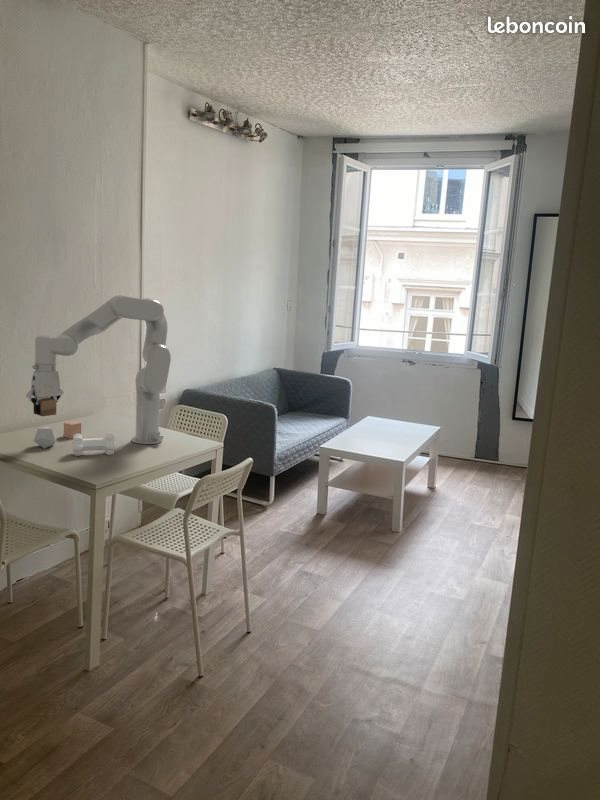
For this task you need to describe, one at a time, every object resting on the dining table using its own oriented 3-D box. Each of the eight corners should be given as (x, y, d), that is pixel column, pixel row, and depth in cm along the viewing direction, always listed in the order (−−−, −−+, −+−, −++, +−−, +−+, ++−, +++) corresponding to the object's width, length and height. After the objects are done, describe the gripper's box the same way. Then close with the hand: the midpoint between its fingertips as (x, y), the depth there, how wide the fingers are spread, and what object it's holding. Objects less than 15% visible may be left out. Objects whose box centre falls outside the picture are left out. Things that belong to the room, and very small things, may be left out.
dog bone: (112, 450, 249) (112, 431, 248) (114, 456, 242) (115, 436, 240) (72, 452, 244) (72, 431, 242) (73, 458, 236) (73, 437, 234)
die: (60, 449, 247) (63, 427, 251) (43, 442, 240) (46, 420, 244) (44, 454, 250) (47, 431, 254) (27, 447, 243) (31, 424, 247)
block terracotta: (81, 436, 266) (81, 423, 265) (70, 438, 262) (70, 424, 261) (74, 434, 269) (74, 420, 268) (63, 436, 265) (63, 422, 264)
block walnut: (56, 414, 246) (56, 399, 245) (42, 416, 241) (42, 401, 240) (47, 411, 249) (47, 397, 248) (33, 413, 245) (33, 398, 243)
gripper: (30, 370, 233) (30, 417, 236) (70, 367, 247) (70, 412, 250) (19, 367, 237) (18, 413, 240) (59, 365, 251) (58, 408, 254)
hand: (45, 412), depth 245 cm, fingers closed on block walnut, 6 cm apart
